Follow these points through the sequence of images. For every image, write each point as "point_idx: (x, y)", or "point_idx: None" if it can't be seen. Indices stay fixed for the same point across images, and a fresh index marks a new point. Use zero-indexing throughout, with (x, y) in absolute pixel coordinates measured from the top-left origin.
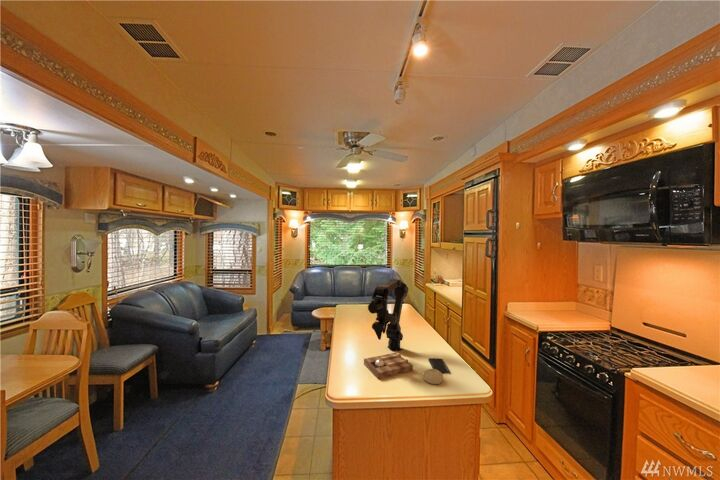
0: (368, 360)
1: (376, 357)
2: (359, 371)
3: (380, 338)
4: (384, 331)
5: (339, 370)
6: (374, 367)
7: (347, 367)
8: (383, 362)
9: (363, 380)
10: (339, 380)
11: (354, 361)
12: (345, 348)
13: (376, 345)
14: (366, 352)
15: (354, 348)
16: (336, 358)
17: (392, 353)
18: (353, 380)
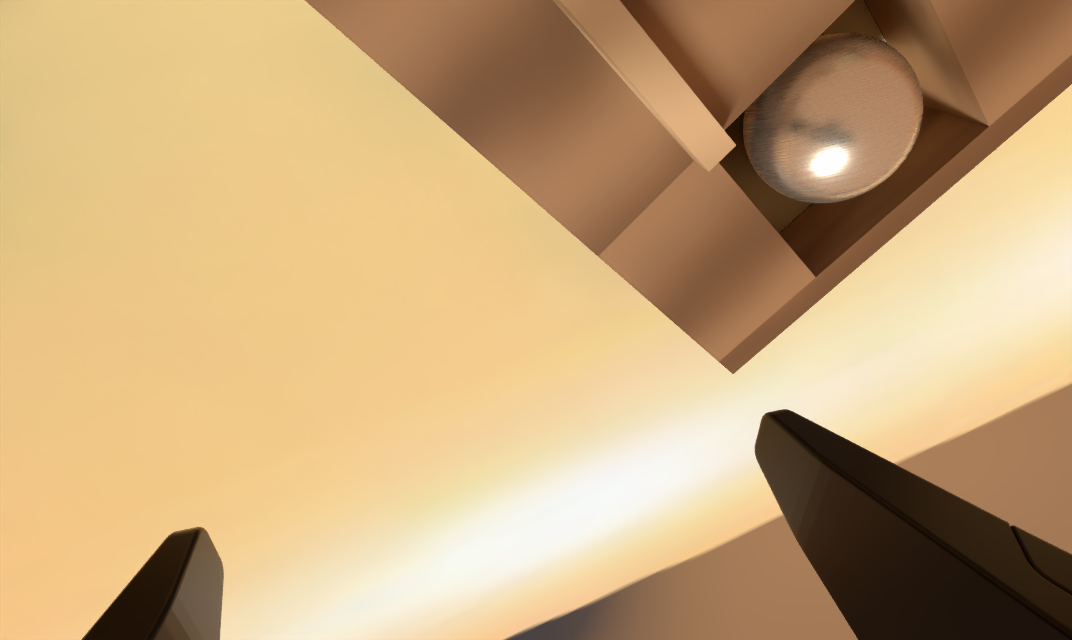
0: (766, 307)
1: (645, 248)
2: (861, 300)
3: (830, 431)
4: (185, 599)
5: None
6: (963, 153)
7: None
8: (880, 58)
9: (1043, 185)
10: (1021, 370)
11: (656, 437)
12: (397, 631)
13: (4, 445)
14: (361, 444)
15: (338, 581)
16: (646, 572)
17: (338, 16)
18: (1033, 272)
